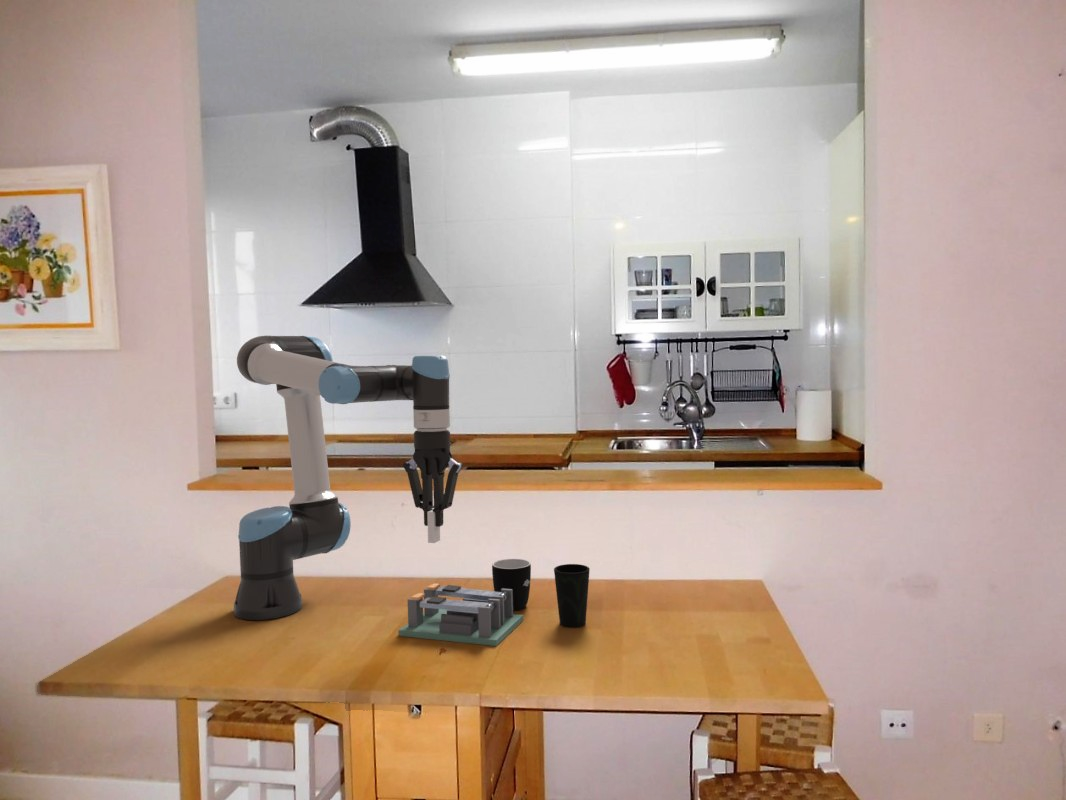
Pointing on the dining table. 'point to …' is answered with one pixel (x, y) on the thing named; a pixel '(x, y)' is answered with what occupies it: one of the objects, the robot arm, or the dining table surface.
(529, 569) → the mug
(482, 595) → the strap far
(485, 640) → the socket board
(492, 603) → the strap near
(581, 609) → the cup
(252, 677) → the dining table surface
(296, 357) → the robot arm
